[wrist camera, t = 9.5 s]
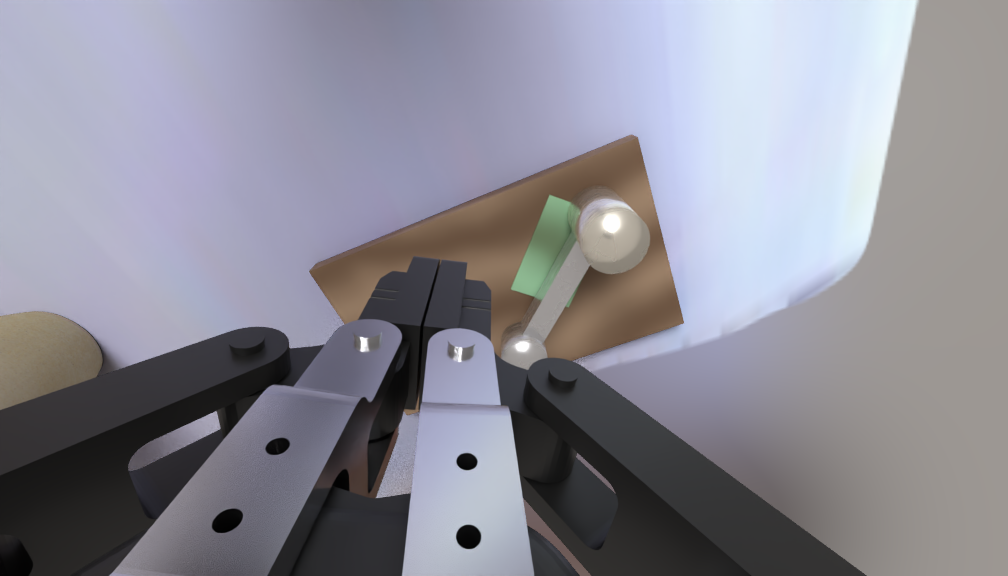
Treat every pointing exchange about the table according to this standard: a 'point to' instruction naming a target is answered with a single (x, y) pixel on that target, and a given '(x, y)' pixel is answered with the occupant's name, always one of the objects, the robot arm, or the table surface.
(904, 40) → the table surface
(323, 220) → the table surface
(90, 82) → the table surface
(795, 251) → the table surface
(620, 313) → the board
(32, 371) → the plant pot
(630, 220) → the lever
